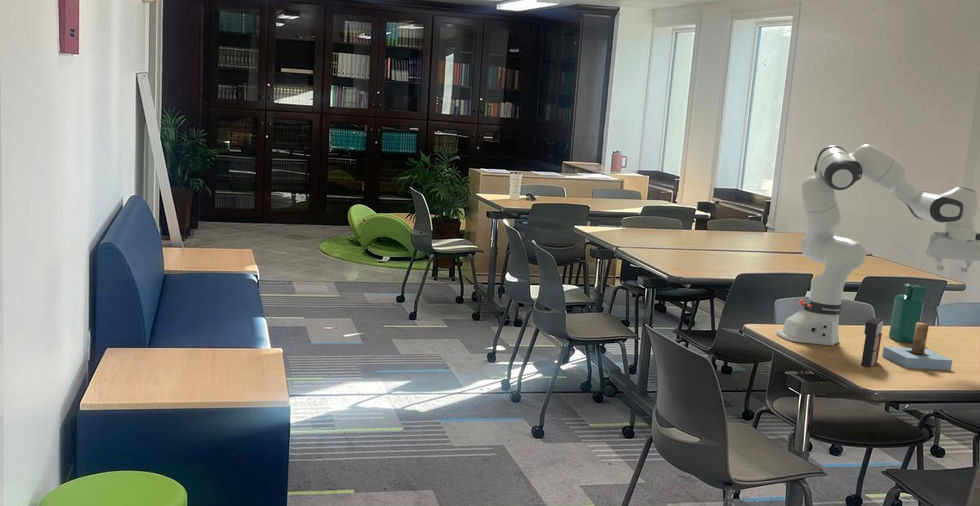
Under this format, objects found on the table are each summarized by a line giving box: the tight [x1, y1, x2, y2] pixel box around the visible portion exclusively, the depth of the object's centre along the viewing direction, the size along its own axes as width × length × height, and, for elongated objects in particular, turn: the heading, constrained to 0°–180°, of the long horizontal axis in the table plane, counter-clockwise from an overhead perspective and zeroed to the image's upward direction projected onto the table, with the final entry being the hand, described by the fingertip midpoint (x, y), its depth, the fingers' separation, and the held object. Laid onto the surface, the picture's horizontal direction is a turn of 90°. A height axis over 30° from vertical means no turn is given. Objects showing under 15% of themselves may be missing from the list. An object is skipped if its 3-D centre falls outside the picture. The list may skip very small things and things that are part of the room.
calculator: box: [860, 316, 884, 368], centre depth 312 cm, size 11×4×15 cm, turn 148°
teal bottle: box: [888, 283, 927, 344], centre depth 353 cm, size 10×8×22 cm
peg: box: [911, 322, 930, 356], centre depth 319 cm, size 4×4×14 cm
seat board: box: [881, 346, 953, 371], centre depth 320 cm, size 17×14×4 cm
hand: (951, 271), depth 329 cm, fingers open, 8 cm apart
